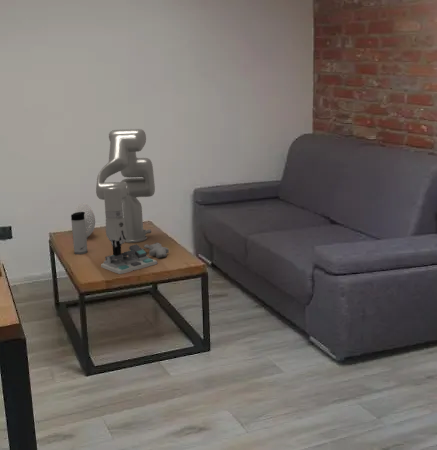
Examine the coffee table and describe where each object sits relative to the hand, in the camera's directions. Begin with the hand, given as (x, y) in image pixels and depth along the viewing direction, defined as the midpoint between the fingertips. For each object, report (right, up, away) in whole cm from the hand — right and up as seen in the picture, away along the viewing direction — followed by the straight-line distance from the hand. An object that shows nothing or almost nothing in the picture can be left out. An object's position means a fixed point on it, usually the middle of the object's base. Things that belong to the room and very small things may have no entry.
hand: (117, 254), depth 304 cm
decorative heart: (-25, +7, +58) cm, 64 cm away
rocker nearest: (+8, +1, +11) cm, 14 cm away
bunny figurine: (+15, -1, +22) cm, 27 cm away
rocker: (-2, -1, +3) cm, 4 cm away
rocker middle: (+3, 0, +7) cm, 8 cm away
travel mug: (-22, 0, +30) cm, 37 cm away
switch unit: (+4, -5, +7) cm, 10 cm away
